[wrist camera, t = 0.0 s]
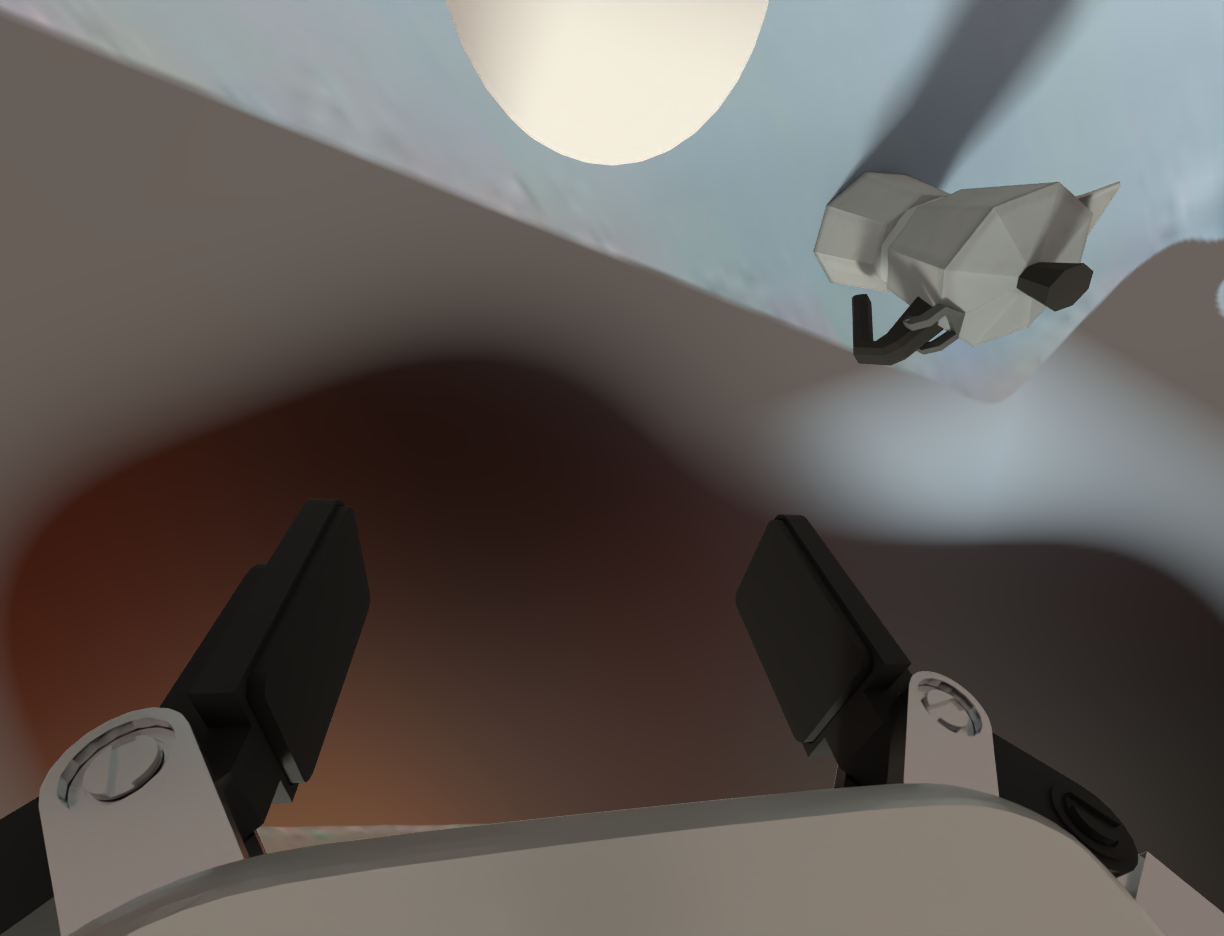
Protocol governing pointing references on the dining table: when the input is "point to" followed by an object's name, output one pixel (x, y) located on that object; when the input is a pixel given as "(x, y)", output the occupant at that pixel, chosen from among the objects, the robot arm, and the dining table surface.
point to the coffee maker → (956, 257)
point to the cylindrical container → (609, 68)
